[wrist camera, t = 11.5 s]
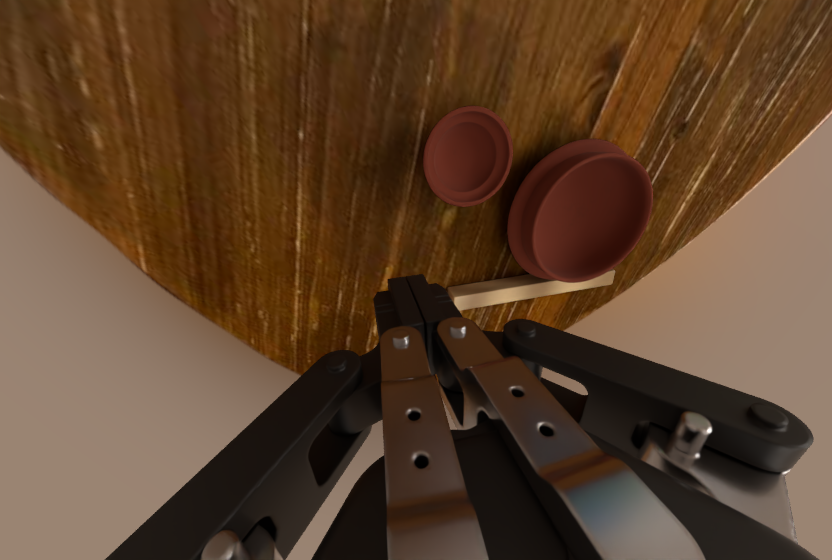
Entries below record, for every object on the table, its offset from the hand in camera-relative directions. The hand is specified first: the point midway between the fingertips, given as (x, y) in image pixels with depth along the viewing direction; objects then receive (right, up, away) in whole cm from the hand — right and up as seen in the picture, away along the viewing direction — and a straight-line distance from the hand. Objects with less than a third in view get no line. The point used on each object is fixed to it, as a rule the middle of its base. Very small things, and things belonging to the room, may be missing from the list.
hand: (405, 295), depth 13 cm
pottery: (+9, +8, +13) cm, 18 cm away
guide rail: (+11, +1, +17) cm, 20 cm away
